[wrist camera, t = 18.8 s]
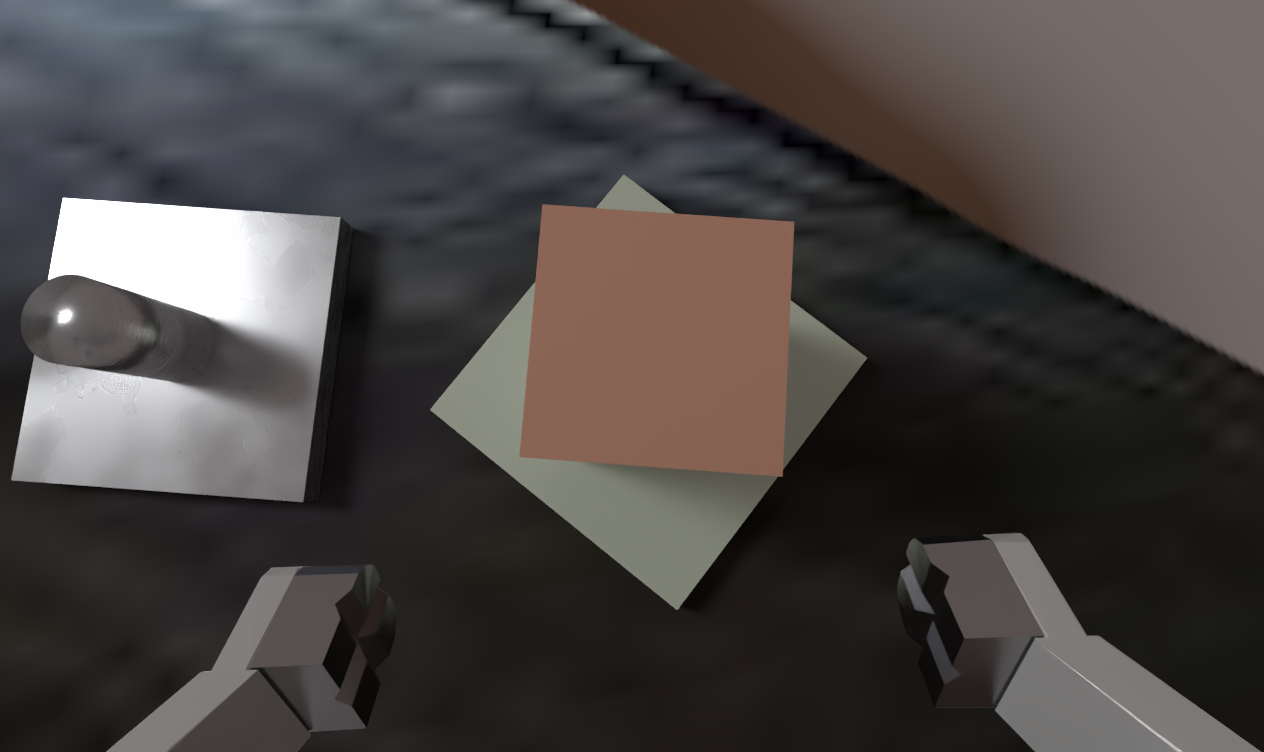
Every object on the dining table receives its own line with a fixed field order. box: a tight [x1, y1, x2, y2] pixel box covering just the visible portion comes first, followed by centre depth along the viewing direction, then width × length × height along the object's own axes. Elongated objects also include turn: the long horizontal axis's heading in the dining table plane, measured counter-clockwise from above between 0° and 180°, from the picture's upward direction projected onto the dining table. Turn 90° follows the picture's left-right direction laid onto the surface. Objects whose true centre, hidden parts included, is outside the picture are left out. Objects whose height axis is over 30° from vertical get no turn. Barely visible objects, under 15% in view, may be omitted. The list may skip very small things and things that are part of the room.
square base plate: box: [11, 198, 354, 502], centre depth 23 cm, size 11×11×6 cm
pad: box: [430, 175, 867, 610], centre depth 25 cm, size 12×12×1 cm
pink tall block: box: [519, 205, 794, 477], centre depth 20 cm, size 6×6×10 cm
